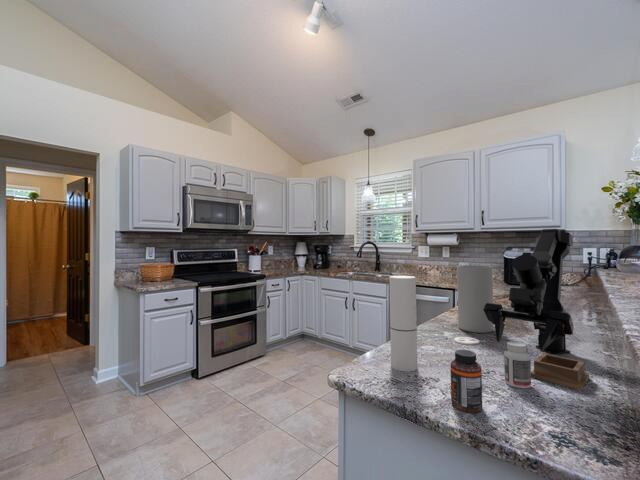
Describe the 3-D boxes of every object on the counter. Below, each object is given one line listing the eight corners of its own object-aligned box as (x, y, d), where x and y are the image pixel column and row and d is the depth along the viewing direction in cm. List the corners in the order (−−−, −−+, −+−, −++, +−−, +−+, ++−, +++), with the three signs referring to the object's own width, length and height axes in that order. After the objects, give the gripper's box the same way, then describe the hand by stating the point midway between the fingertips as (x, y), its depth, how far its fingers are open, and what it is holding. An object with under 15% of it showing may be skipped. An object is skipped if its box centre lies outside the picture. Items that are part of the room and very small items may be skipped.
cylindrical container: (417, 363, 87) (416, 275, 88) (417, 373, 81) (415, 278, 81) (392, 360, 90) (390, 275, 90) (389, 369, 83) (388, 277, 83)
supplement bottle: (447, 398, 67) (446, 347, 67) (475, 399, 66) (474, 347, 67) (456, 413, 61) (455, 356, 61) (487, 415, 60) (486, 357, 61)
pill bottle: (535, 385, 73) (534, 344, 73) (525, 391, 70) (523, 348, 70) (511, 377, 77) (510, 338, 77) (500, 382, 74) (499, 342, 74)
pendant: (450, 339, 109) (450, 337, 109) (479, 338, 110) (479, 336, 110) (460, 346, 102) (460, 343, 102) (491, 344, 103) (491, 342, 103)
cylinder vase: (451, 327, 124) (450, 266, 125) (472, 323, 130) (471, 264, 130) (478, 335, 113) (477, 268, 113) (500, 331, 118) (499, 266, 119)
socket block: (541, 366, 84) (540, 351, 84) (589, 377, 76) (588, 361, 76) (530, 376, 77) (529, 361, 77) (581, 390, 70) (580, 373, 70)
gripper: (485, 273, 86) (469, 319, 78) (569, 278, 72) (560, 334, 64) (495, 298, 91) (481, 343, 83) (577, 307, 77) (569, 363, 69)
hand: (518, 345), depth 75 cm, fingers open, 9 cm apart
